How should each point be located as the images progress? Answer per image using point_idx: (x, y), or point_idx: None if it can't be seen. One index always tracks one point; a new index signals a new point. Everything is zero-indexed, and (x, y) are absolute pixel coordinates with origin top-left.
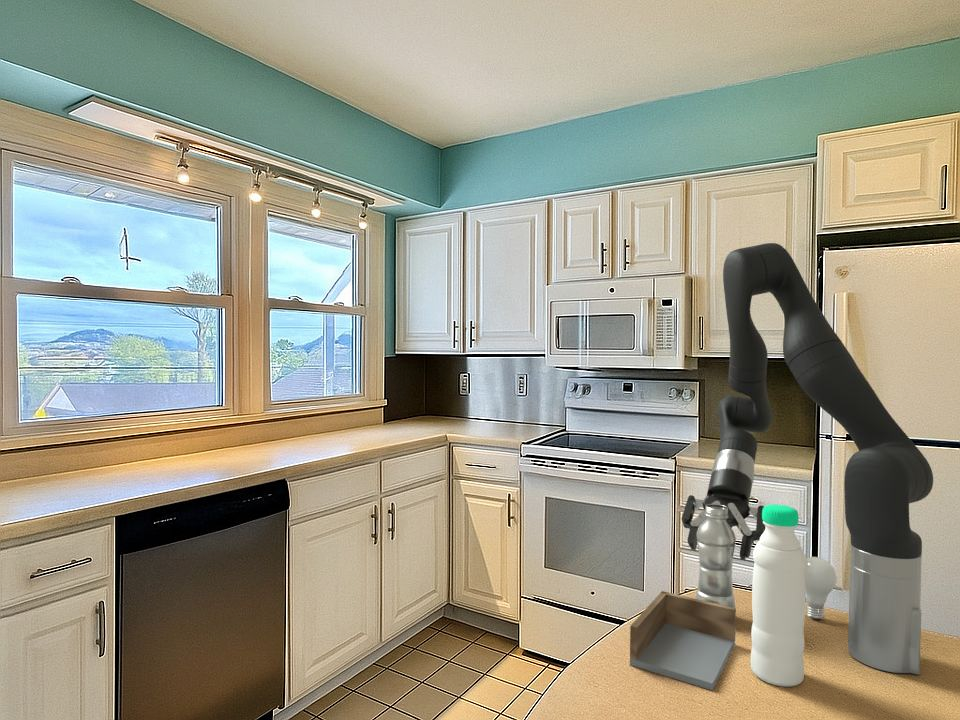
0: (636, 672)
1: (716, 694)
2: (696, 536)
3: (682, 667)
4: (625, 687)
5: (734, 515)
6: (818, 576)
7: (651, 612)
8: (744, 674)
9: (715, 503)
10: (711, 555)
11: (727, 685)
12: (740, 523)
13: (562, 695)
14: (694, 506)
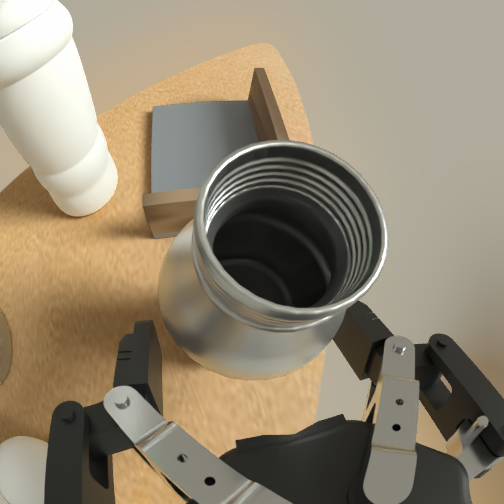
0: (240, 99)
1: (148, 110)
2: (351, 331)
3: (194, 114)
4: (234, 77)
5: (219, 465)
6: (10, 441)
7: (268, 112)
8: (125, 163)
9: (396, 478)
10: (236, 240)
11: (140, 130)
12: (164, 426)
13: (270, 53)
14: (468, 426)
